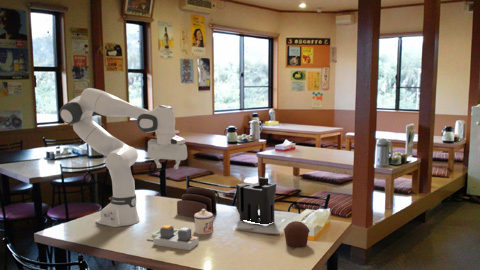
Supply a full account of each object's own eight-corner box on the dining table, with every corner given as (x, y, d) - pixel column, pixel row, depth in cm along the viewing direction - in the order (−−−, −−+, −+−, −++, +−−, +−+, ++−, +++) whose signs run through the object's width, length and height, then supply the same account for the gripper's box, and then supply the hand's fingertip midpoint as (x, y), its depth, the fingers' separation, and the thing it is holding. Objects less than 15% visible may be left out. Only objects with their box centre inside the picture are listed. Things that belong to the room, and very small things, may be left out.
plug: (160, 243, 192) (160, 227, 191) (165, 240, 196) (165, 224, 195) (169, 245, 191) (168, 228, 190) (174, 241, 195) (173, 225, 194)
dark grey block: (178, 246, 189) (177, 229, 188) (183, 243, 192) (182, 226, 192) (187, 247, 187) (186, 230, 186) (191, 244, 191) (191, 227, 190)
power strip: (142, 245, 194) (141, 235, 193) (152, 239, 201) (152, 229, 200) (189, 252, 184) (189, 242, 184) (198, 245, 192) (198, 235, 191)
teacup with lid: (205, 237, 202) (204, 213, 200) (190, 234, 207) (189, 210, 206) (221, 230, 212) (220, 207, 210) (206, 227, 217) (205, 204, 215)
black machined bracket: (267, 227, 214) (267, 184, 211) (233, 220, 226) (232, 179, 223) (279, 221, 224) (279, 179, 221) (246, 214, 236) (246, 175, 233)
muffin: (283, 239, 197) (282, 218, 196) (307, 239, 197) (307, 218, 196) (285, 250, 185) (284, 227, 184) (311, 249, 185) (311, 227, 184)
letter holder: (188, 210, 247) (187, 185, 245) (217, 215, 237) (216, 189, 235) (176, 214, 239) (175, 189, 237) (206, 220, 228) (205, 193, 227)
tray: (151, 238, 202) (151, 234, 202) (163, 231, 211) (163, 227, 211) (170, 240, 198) (170, 236, 198) (181, 233, 208) (181, 229, 207)
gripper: (144, 139, 207) (145, 168, 208) (181, 141, 199) (182, 170, 201) (151, 138, 213) (152, 165, 214) (188, 139, 205) (189, 168, 206)
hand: (167, 168), depth 207 cm, fingers open, 8 cm apart
